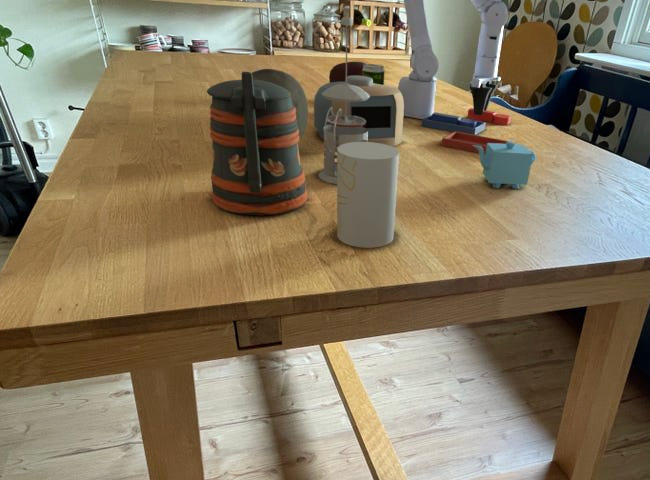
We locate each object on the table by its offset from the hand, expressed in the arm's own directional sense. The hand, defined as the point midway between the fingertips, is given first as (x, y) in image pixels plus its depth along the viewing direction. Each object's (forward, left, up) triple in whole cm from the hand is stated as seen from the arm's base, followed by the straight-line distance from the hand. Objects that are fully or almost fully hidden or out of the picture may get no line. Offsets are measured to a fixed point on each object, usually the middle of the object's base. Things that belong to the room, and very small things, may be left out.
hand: (479, 113), depth 147 cm
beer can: (-22, -20, -2) cm, 30 cm away
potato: (-35, -7, -2) cm, 36 cm away
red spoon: (+3, 0, -1) cm, 3 cm away
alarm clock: (-16, -38, -2) cm, 41 cm away
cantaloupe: (-22, -61, -2) cm, 65 cm away
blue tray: (-2, -14, -1) cm, 14 cm away
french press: (-4, -65, -2) cm, 65 cm away
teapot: (+21, -50, -2) cm, 54 cm away
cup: (+12, -86, -2) cm, 87 cm away
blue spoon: (-2, -14, -1) cm, 14 cm away
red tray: (+9, -28, -1) cm, 29 cm away
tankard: (-7, -85, -2) cm, 85 cm away
